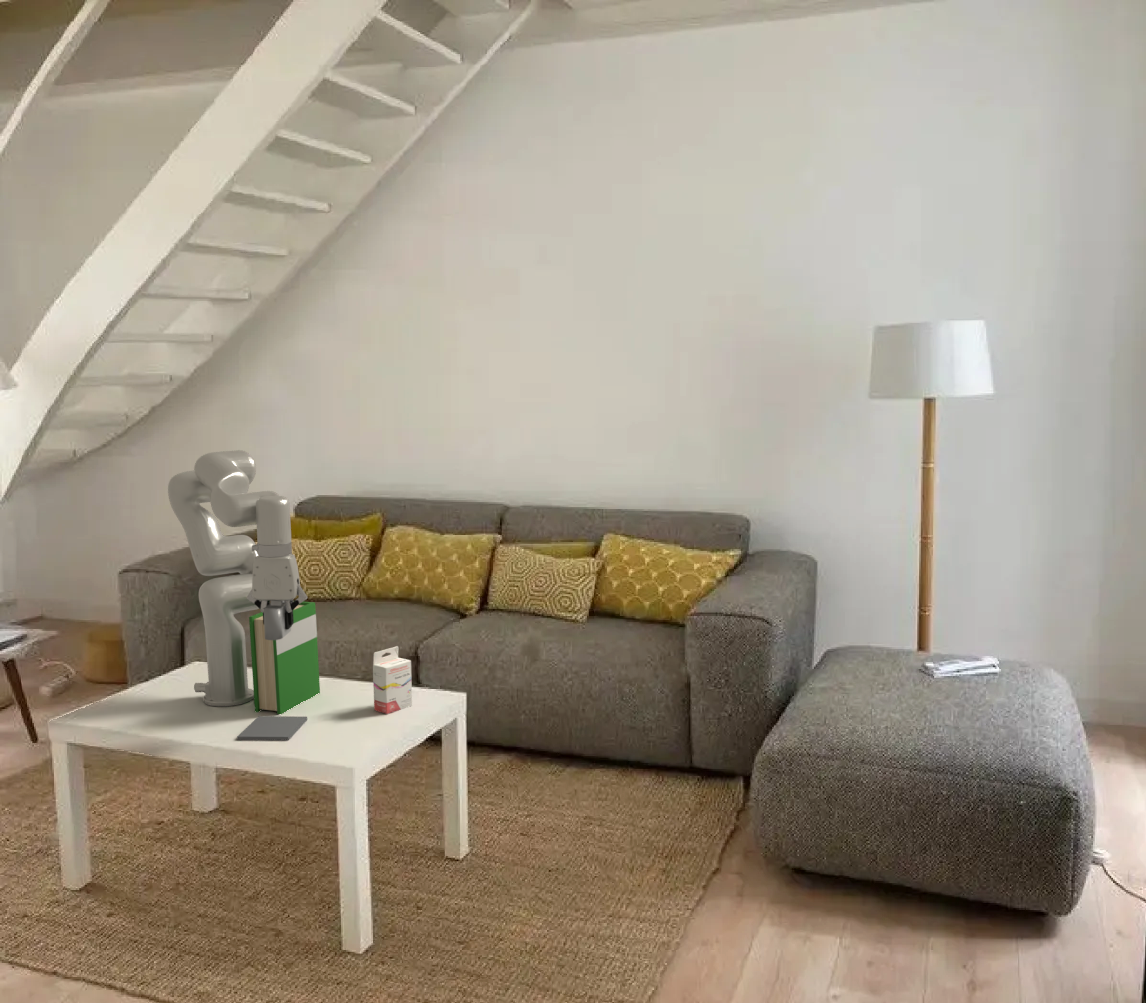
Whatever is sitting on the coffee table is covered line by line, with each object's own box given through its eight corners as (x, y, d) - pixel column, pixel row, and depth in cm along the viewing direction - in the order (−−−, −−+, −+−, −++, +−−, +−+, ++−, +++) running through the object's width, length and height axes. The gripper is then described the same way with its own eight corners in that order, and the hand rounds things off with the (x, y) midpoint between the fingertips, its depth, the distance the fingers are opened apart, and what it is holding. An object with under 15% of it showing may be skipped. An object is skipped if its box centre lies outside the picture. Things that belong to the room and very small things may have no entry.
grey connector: (262, 640, 259) (260, 601, 258) (276, 628, 269) (274, 591, 268) (279, 640, 259) (278, 601, 258) (293, 628, 269) (291, 591, 267)
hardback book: (280, 714, 279) (274, 619, 275) (254, 712, 281) (249, 617, 278) (320, 693, 295) (315, 602, 292) (295, 690, 298) (290, 600, 294)
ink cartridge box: (387, 715, 277) (384, 656, 275) (373, 711, 281) (371, 652, 278) (413, 705, 284) (411, 648, 282) (400, 701, 287) (397, 645, 285)
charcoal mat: (237, 739, 262) (237, 736, 262) (258, 719, 276) (258, 716, 276) (288, 740, 261) (288, 737, 261) (307, 719, 275) (307, 716, 275)
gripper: (233, 553, 258) (237, 631, 261) (306, 553, 257) (309, 632, 260) (244, 546, 266) (248, 623, 269) (315, 547, 265) (318, 623, 268)
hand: (278, 627), depth 264 cm, fingers closed on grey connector, 4 cm apart
